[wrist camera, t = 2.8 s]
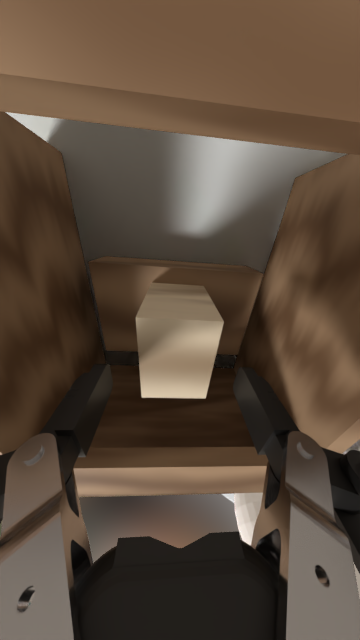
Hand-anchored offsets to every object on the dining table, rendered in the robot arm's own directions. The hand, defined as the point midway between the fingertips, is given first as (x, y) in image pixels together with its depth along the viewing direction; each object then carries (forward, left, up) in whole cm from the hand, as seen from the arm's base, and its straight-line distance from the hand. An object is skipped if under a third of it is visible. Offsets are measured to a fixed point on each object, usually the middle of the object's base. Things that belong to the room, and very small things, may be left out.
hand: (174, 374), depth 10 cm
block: (0, 0, -8) cm, 8 cm away
